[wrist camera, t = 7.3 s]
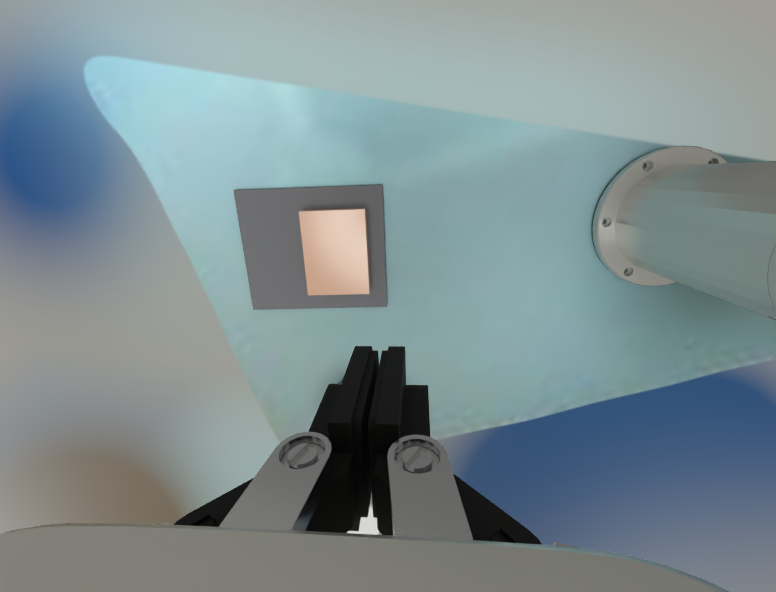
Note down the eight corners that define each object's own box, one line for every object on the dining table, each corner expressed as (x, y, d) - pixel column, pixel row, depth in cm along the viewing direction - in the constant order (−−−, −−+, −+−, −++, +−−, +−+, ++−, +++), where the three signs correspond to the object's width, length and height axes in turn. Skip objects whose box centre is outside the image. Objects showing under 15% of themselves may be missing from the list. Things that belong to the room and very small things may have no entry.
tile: (303, 209, 34) (366, 207, 34) (312, 289, 37) (370, 288, 36) (298, 211, 32) (364, 209, 32) (308, 295, 35) (369, 294, 35)
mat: (382, 184, 34) (382, 184, 33) (387, 305, 37) (387, 306, 37) (235, 189, 34) (233, 190, 34) (254, 308, 38) (253, 309, 38)
